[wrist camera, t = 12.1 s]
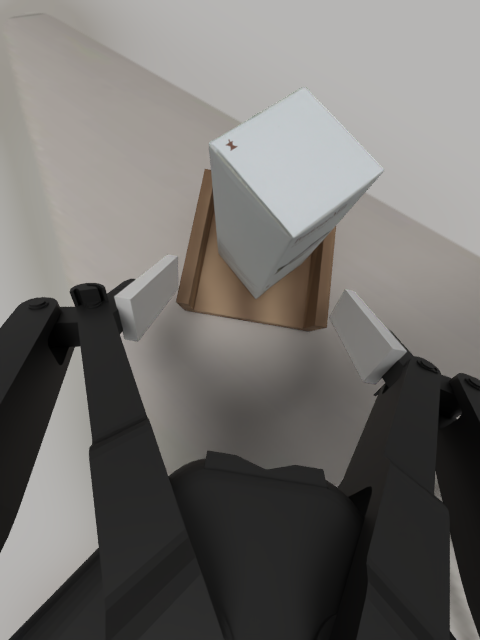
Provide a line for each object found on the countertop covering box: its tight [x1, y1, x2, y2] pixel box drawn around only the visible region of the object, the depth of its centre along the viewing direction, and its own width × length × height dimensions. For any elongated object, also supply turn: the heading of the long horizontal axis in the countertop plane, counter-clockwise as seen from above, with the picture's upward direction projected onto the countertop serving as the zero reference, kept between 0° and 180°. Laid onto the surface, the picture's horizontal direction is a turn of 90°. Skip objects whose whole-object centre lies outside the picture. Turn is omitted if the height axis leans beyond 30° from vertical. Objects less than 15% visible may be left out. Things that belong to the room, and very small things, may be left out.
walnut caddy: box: [176, 169, 336, 331], centre depth 22 cm, size 15×15×4 cm
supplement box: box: [209, 87, 384, 299], centre depth 17 cm, size 7×7×13 cm
